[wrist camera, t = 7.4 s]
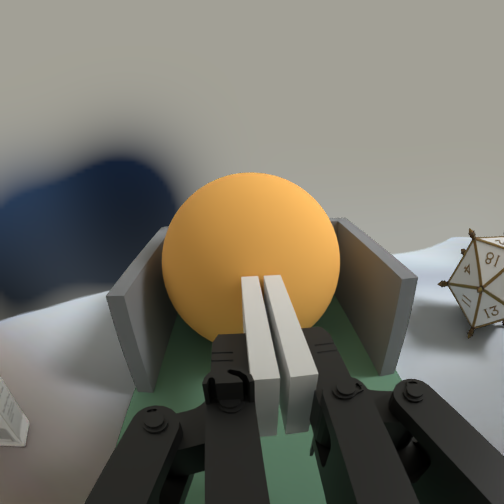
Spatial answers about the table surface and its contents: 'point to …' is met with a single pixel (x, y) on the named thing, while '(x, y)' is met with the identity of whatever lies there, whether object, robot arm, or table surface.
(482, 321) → the game die
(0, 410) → the ink cartridge box
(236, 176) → the ball
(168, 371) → the pitch
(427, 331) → the table surface
